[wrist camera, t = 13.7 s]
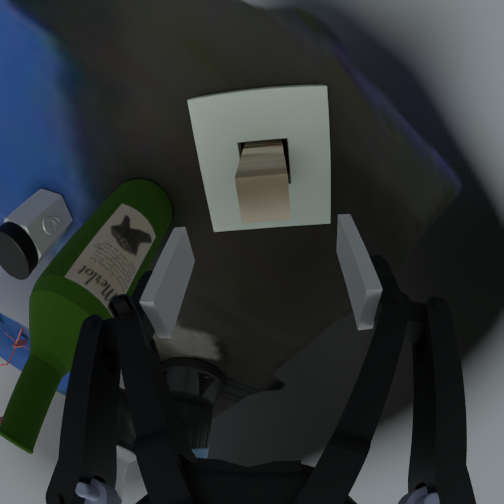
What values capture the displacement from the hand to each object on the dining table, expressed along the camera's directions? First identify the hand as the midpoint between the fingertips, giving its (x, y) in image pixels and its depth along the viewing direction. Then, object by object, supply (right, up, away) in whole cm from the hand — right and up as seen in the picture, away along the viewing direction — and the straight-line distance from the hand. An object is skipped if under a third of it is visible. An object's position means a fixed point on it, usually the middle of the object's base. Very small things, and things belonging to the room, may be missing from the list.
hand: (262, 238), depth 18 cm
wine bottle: (-15, +5, +19) cm, 25 cm away
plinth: (+1, +10, +14) cm, 18 cm away
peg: (+1, +10, +14) cm, 18 cm away
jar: (-32, +6, +20) cm, 38 cm away
